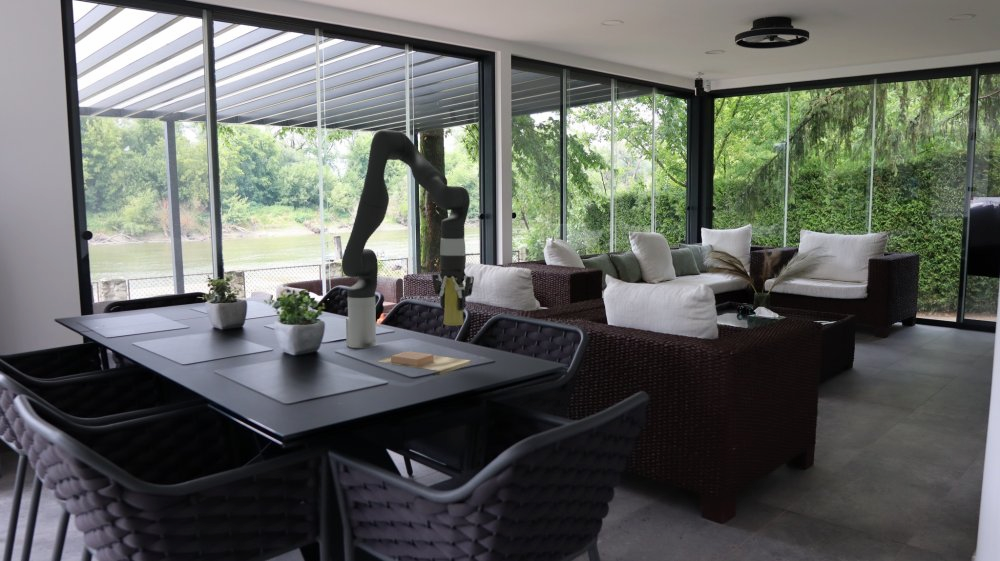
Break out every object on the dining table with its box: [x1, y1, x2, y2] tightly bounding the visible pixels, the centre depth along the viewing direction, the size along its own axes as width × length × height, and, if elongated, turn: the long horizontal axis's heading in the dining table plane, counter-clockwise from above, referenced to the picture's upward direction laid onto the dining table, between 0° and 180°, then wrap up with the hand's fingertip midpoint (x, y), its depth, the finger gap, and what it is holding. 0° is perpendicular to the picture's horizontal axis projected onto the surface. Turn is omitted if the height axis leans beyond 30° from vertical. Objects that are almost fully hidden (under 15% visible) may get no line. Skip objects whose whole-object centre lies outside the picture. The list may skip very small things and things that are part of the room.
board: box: [375, 355, 472, 376], centre depth 221 cm, size 24×16×1 cm, turn 59°
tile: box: [390, 350, 435, 366], centre depth 220 cm, size 2×8×10 cm
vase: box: [442, 277, 464, 326], centre depth 219 cm, size 6×6×14 cm
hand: (453, 309), depth 220 cm, fingers closed on vase, 5 cm apart
